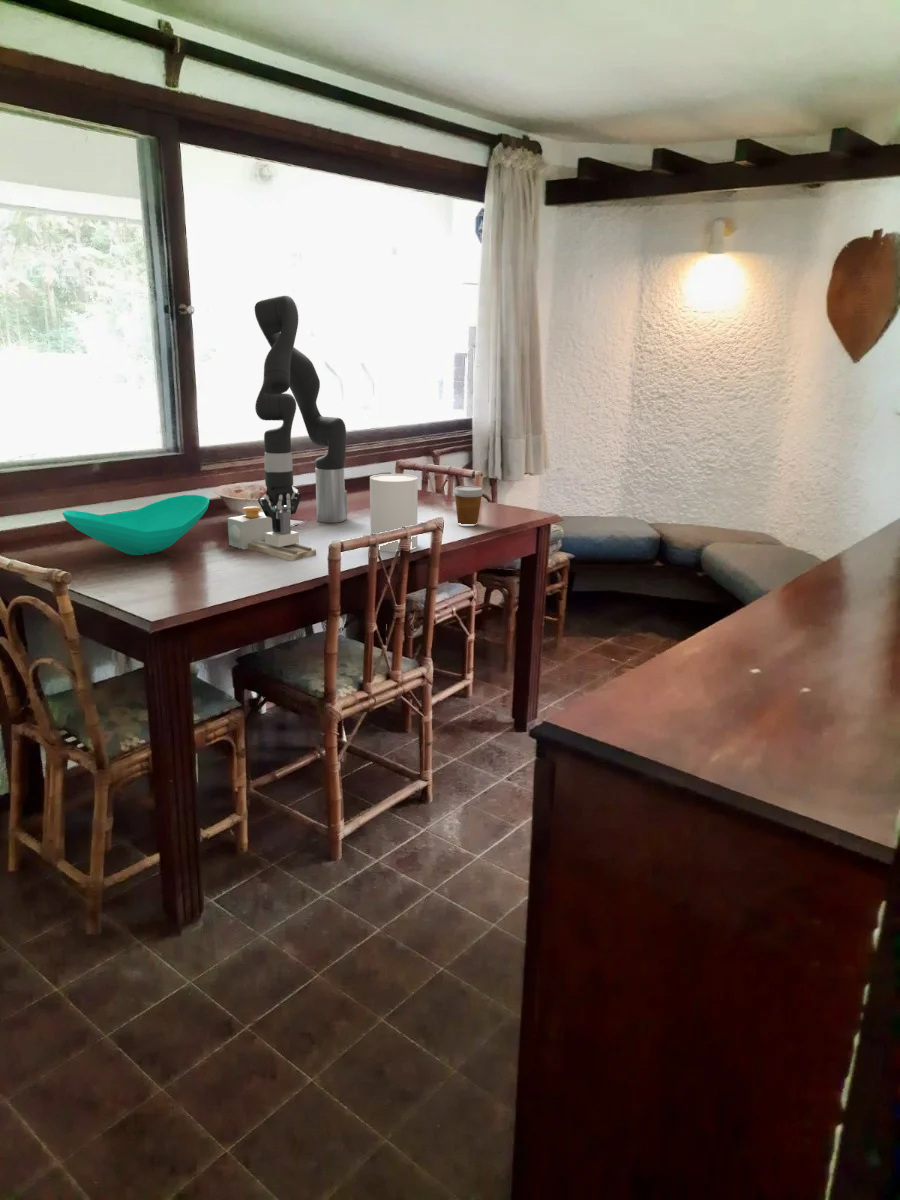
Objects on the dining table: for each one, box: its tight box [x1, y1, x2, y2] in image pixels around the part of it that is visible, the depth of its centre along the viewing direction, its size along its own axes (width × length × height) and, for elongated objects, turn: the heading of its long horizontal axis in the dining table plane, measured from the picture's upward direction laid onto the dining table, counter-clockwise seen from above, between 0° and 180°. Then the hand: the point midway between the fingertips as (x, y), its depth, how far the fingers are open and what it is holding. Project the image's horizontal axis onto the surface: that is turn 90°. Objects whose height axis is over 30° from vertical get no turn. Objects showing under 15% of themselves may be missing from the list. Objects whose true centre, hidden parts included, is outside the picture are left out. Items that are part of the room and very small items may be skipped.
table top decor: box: [62, 494, 210, 556], centre depth 229 cm, size 40×28×13 cm
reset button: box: [242, 506, 262, 519], centre depth 239 cm, size 5×5×4 cm
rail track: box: [247, 539, 317, 562], centre depth 233 cm, size 9×19×2 cm, turn 49°
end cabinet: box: [226, 511, 273, 550], centre depth 240 cm, size 12×7×8 cm, turn 139°
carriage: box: [265, 510, 300, 547], centre depth 231 cm, size 7×6×9 cm
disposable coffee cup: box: [453, 485, 484, 524], centre depth 269 cm, size 10×10×12 cm
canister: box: [369, 473, 419, 553], centre depth 239 cm, size 14×14×20 cm
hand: (281, 530), depth 232 cm, fingers closed on carriage, 2 cm apart
